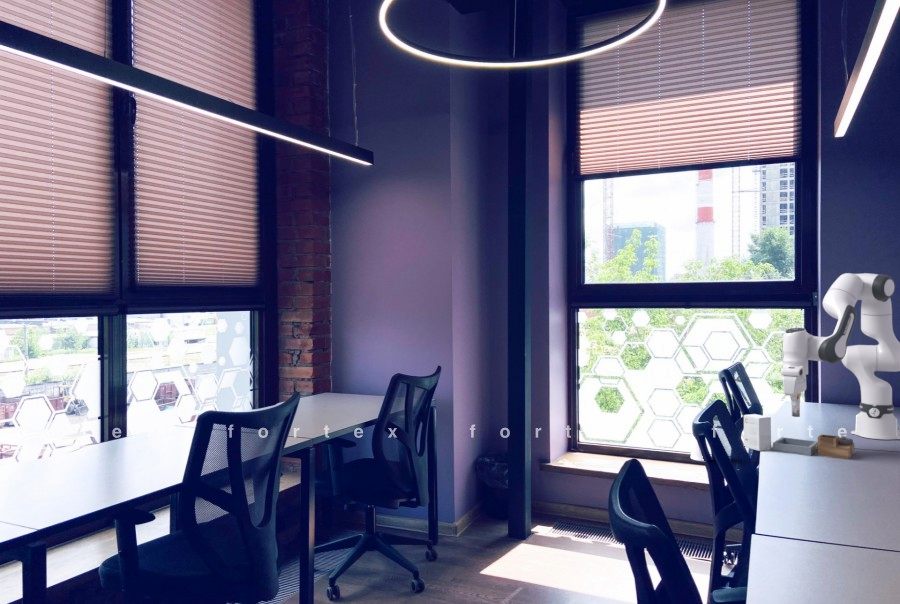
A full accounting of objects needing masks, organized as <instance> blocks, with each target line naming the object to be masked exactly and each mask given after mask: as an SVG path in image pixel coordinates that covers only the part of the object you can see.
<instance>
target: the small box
mask: <svg viewBox="0 0 900 604" xmlns="http://www.w3.org/2000/svg"><path fill="white" fill-rule="evenodd" d="M771 418H772V417H771V416H766V415H763V414H756V413H752V414H743V447H744V446H745V447H744V448H746V449H751V450H755V451H758V452H762V451H764V452H765V451H770V450H772V419H771Z"/></svg>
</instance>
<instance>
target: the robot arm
mask: <svg viewBox="0 0 900 604" xmlns="http://www.w3.org/2000/svg"><path fill="white" fill-rule="evenodd" d="M895 291H896V284H895V280H894V279H893V278H892V277H891V276H889V275H887V274H882V273H880V274H877V273H870V272H869V273H867V272H864V273H850V272H848V273H847V272H845V273H842V274H841V275H839V276H838V277H837V278H836V280H835V281H833V283H832V284H831V286H830V287H829V288H828V290H827V292H826V294H825V295H824V297H823V299H822V307H823V310H824V311H825V312H826V313H827V315H829V316H830V317H832V318H833V319H835V320H837V321H836V322H837V323H836V325H835V328H834V330H833V333H832V334H831V335H829V336H816V335H813V334H811V333H808V332H807V330H806V328H803V327H791V328H788V329H786V330H785V331H784V333H783V335H782V336H783V338H782V353H783V359H782V368H781V369H780V370H781V371H780V374H781V376H782V389H783V394H784V396H788V397H789V398H790V401H791V403H790V404H791V406H792V405H794V406H796V405H797V394H799V393H800V398H801V396H802V393H803V392H805V391H806V390H807V375H809V361H815V362H824V363H829V364H838V363H839V362H841V364H843V366H844V367H845V368H846V369H847V370H849V371H850V372H852V374H854V376H855V377H856V379H857V381H858V383H859V386H860V400H861V401H860V402H859V411H860V412H858V413H857V414H856V415H855V429H854V430H851V431H850V434H851V435H852V434H853V435H856V436H859V437H863V438H865V439H866V438H868V439H872V440H873V439H874V440H900V428H899V426H898V418H897V417H896V416H895V415H894V412H895V411H894V409H895V407H894V404H893V388H892V386H891V384H890V383H889V382H888V381H885V380H884V379H882V378H879V377H877V376H876V375H875V372H893V373H894V372H896V373H897V372H900V341H899V340H898V339H897V337H896V335H895V333H894V329H893V308H892V300H891V299H892V298H891V297H892V296H893V295H894V293H895ZM858 301H861V304H860V305H861V306H860V330H861V332H862V333H863V334H864V335H865V336H867V337H869V338H871V339H874V340H876V341H877V342H878V344H875V345H874V344H869V345H868V344H855V345H854V344H853V345H848V343H849V339H850V337H851V335H852V332H853V330H854V327H855V323H856V320H857V315H858V314H857V309H856V308H855V306H856V304H857V302H858Z"/></svg>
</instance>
